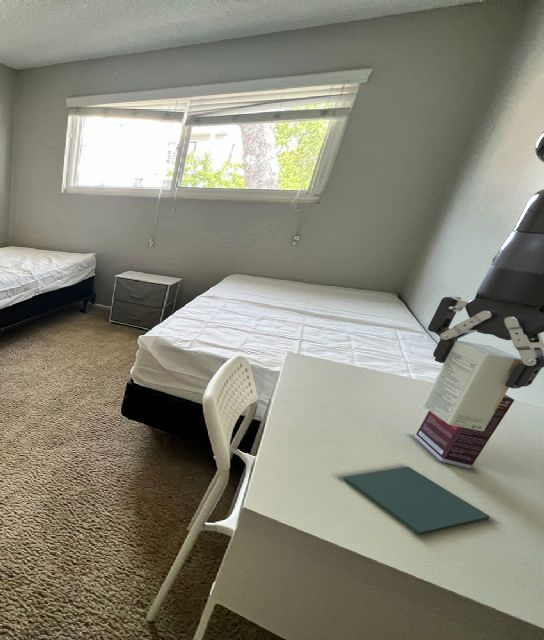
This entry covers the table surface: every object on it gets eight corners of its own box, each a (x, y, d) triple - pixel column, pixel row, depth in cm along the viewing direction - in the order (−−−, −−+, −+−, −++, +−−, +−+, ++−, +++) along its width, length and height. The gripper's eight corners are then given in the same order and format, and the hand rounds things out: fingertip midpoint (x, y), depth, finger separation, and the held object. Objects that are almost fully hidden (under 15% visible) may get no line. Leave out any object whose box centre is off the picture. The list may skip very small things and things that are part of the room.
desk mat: (406, 468, 66) (408, 466, 66) (488, 519, 56) (490, 516, 56) (343, 479, 62) (344, 476, 62) (418, 535, 53) (420, 532, 52)
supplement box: (472, 470, 67) (517, 400, 62) (440, 462, 69) (481, 393, 63) (440, 442, 75) (478, 378, 69) (412, 436, 76) (447, 372, 71)
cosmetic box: (484, 433, 52) (530, 361, 48) (447, 425, 54) (489, 354, 49) (452, 410, 58) (490, 344, 54) (419, 404, 59) (454, 338, 55)
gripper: (645, 281, 42) (564, 397, 48) (480, 259, 55) (432, 352, 61) (609, 281, 40) (529, 401, 46) (447, 257, 53) (401, 354, 59)
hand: (474, 373), depth 53 cm, fingers closed on cosmetic box, 7 cm apart
